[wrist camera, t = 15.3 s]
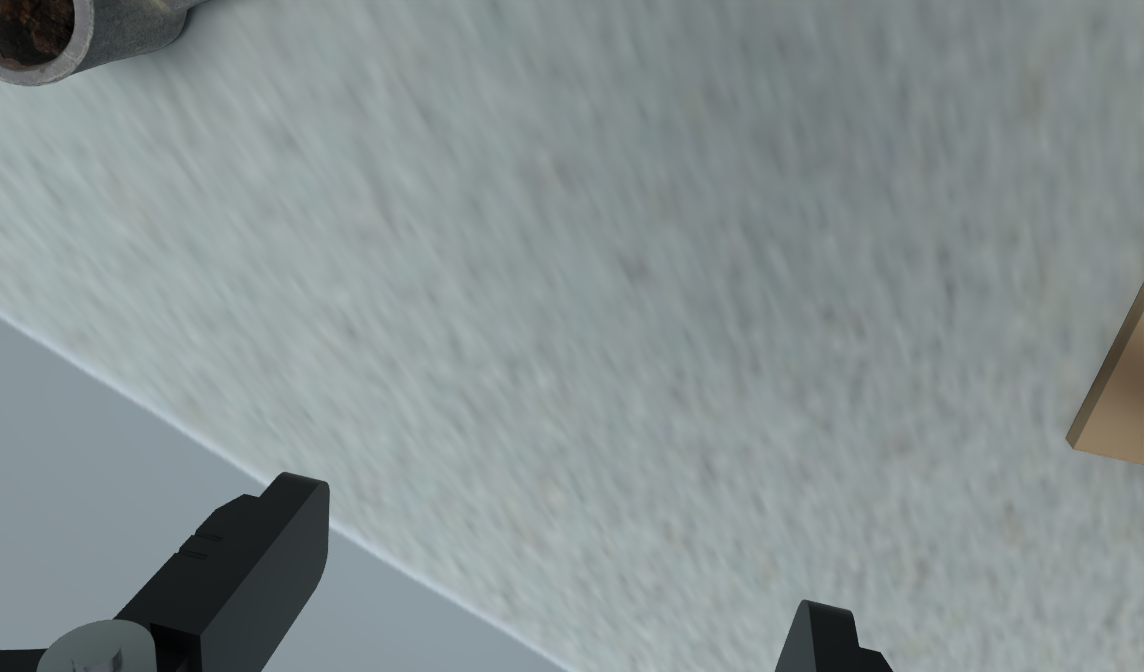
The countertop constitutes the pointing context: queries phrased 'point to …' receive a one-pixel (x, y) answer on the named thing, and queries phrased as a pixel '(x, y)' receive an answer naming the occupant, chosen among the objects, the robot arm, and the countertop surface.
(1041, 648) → the countertop surface
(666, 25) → the countertop surface
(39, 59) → the pipe
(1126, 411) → the wooden tray with rails
